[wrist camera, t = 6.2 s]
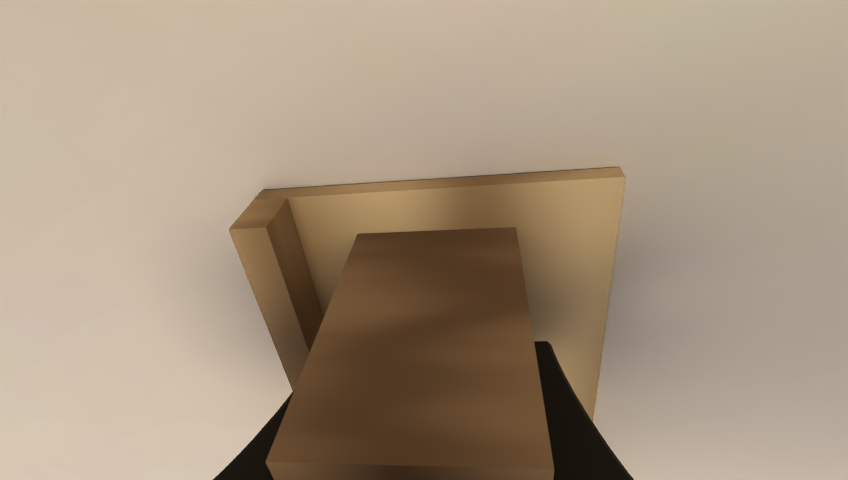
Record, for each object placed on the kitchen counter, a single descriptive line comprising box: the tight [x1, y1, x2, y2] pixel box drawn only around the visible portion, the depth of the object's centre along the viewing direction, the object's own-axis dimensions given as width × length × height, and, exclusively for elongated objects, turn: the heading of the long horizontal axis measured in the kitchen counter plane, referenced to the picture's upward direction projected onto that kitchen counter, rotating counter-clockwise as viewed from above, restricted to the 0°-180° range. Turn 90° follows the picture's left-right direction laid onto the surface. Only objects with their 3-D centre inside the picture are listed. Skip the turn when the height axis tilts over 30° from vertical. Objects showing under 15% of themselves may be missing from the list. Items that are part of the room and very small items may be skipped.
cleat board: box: [229, 167, 625, 422], centre depth 17 cm, size 10×18×2 cm, turn 6°
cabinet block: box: [266, 227, 554, 480], centre depth 11 cm, size 4×5×8 cm
